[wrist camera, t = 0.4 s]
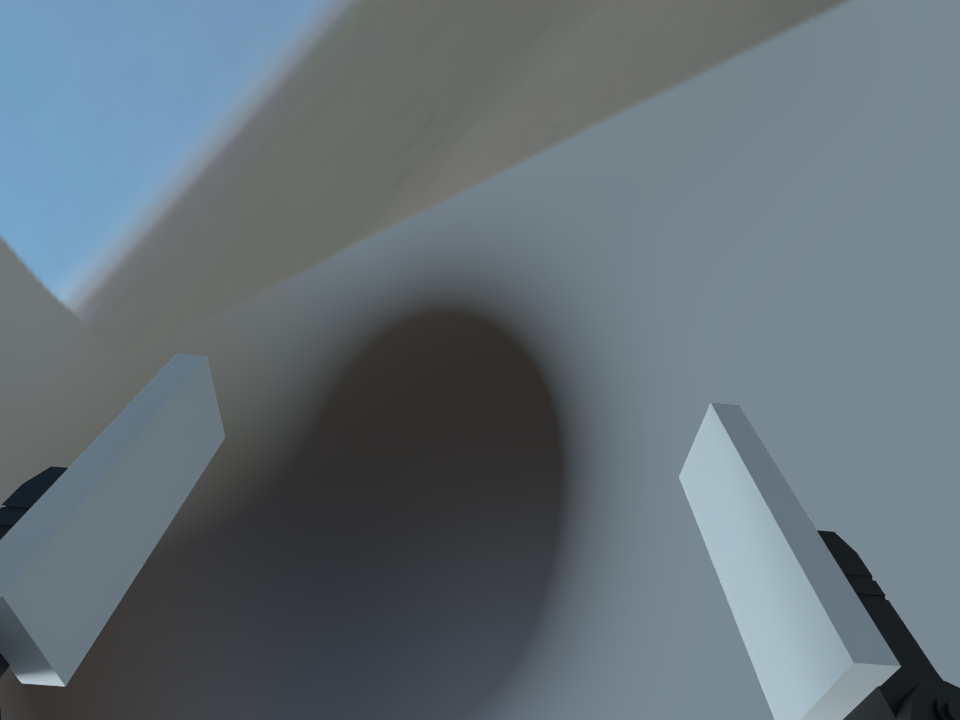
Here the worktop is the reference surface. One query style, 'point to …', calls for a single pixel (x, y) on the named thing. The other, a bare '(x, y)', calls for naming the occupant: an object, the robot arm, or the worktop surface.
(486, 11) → the worktop surface
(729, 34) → the worktop surface
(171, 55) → the worktop surface
